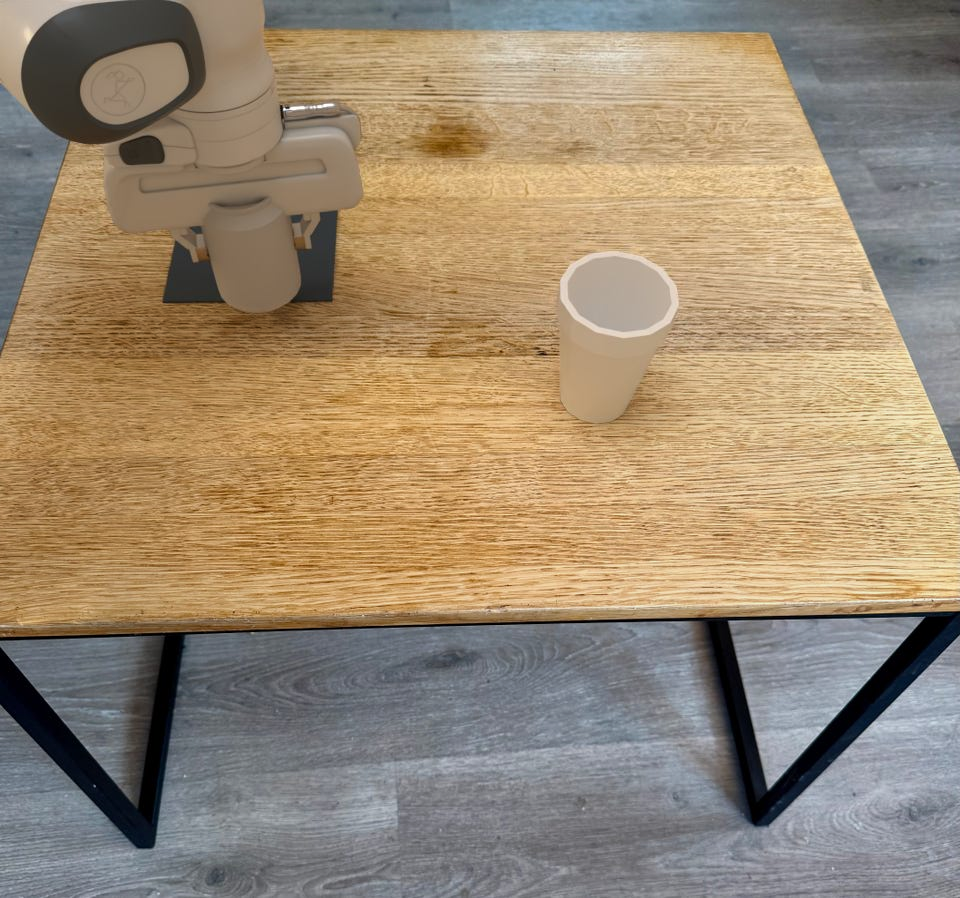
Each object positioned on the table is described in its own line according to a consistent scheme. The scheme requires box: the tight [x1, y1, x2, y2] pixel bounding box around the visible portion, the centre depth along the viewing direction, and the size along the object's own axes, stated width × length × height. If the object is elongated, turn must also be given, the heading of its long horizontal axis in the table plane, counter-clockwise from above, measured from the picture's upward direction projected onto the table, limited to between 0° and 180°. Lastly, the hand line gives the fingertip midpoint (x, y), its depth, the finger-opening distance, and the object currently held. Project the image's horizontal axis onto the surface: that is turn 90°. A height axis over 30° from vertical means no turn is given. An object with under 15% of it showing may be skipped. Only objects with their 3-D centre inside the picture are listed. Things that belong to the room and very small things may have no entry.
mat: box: [162, 210, 339, 304], centre depth 88 cm, size 16×16×1 cm
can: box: [201, 197, 301, 314], centre depth 76 cm, size 8×8×12 cm
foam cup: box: [556, 250, 680, 425], centre depth 74 cm, size 10×9×13 cm
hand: (252, 250), depth 77 cm, fingers closed on can, 7 cm apart
